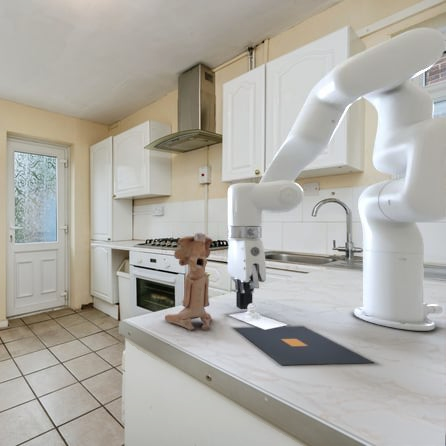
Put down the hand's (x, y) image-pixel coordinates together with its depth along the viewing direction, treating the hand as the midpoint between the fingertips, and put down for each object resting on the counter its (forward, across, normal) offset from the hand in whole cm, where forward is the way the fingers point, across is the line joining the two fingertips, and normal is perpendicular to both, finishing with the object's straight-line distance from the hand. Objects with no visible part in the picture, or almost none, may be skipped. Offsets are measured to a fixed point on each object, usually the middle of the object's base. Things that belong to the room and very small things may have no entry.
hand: (244, 308), depth 68 cm
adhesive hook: (+1, -5, 0) cm, 5 cm away
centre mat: (+1, -17, 0) cm, 17 cm away
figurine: (+1, -7, +16) cm, 18 cm away
